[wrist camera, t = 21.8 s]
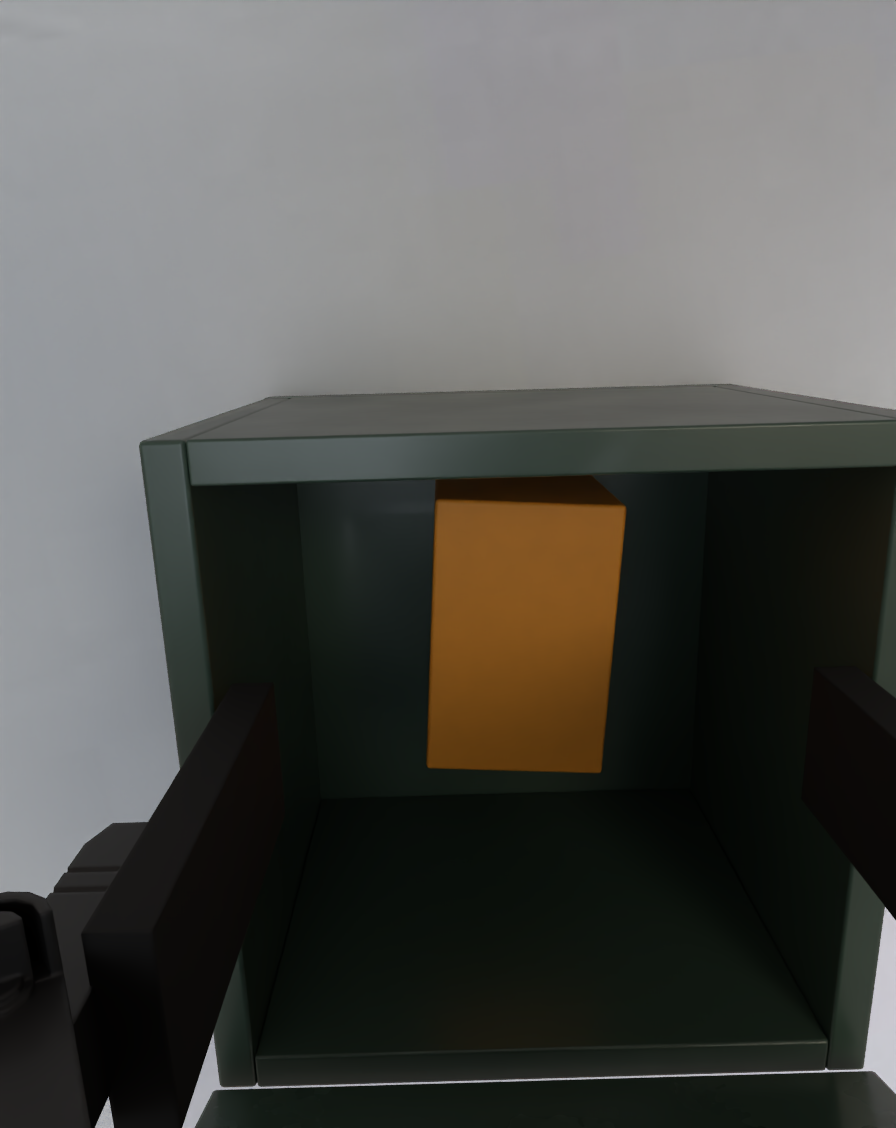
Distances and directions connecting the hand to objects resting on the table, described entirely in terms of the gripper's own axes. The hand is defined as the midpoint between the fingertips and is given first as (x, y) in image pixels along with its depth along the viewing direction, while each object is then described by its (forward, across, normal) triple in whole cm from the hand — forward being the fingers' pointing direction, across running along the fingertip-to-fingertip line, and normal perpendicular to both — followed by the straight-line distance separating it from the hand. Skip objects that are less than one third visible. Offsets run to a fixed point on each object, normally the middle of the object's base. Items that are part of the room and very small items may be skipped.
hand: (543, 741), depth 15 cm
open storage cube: (+11, 0, -1) cm, 11 cm away
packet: (+10, 0, 0) cm, 10 cm away
